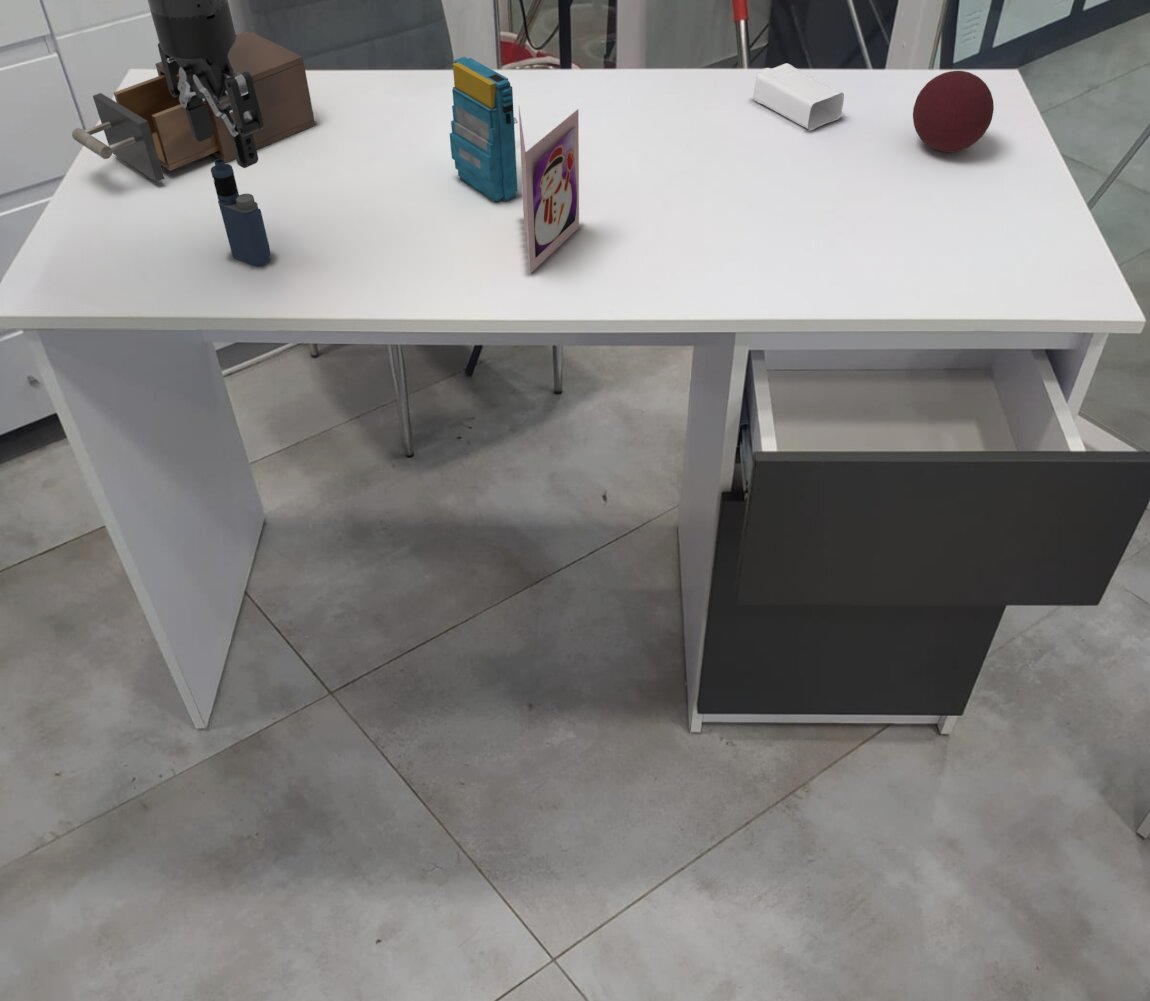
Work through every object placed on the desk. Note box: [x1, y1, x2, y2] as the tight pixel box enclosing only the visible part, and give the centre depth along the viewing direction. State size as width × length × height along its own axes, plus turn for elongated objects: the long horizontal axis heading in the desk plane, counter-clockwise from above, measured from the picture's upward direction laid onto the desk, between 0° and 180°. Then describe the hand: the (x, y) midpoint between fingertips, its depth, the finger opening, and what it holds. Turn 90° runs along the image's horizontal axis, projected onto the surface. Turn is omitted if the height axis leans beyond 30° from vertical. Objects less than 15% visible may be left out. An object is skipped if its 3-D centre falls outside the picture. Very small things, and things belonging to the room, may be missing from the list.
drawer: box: [71, 74, 220, 183], centre depth 144 cm, size 18×11×8 cm, turn 136°
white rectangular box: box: [753, 62, 845, 132], centre depth 155 cm, size 6×13×4 cm, turn 35°
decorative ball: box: [912, 70, 995, 153], centre depth 145 cm, size 10×10×10 cm
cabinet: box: [155, 30, 316, 164], centre depth 150 cm, size 15×13×10 cm
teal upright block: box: [449, 56, 518, 203], centre depth 137 cm, size 10×4×15 cm, turn 40°
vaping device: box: [210, 158, 272, 267], centre depth 126 cm, size 3×5×12 cm, turn 59°
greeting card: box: [518, 106, 580, 274], centre depth 127 cm, size 11×7×15 cm, turn 151°
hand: (226, 151), depth 121 cm, fingers open, 8 cm apart
